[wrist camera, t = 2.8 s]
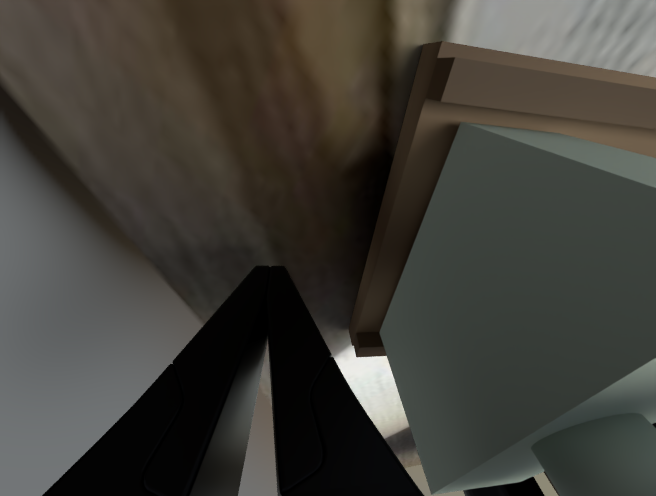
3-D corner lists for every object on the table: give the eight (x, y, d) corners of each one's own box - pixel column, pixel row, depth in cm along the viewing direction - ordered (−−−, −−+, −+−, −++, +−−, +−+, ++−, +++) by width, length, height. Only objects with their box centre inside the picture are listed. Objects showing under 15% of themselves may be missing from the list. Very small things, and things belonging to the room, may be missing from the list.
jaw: (437, 330, 12) (551, 541, 7) (379, 332, 12) (452, 560, 6) (558, 132, 7) (1516, 379, 1) (460, 121, 6) (1345, 423, 1)
